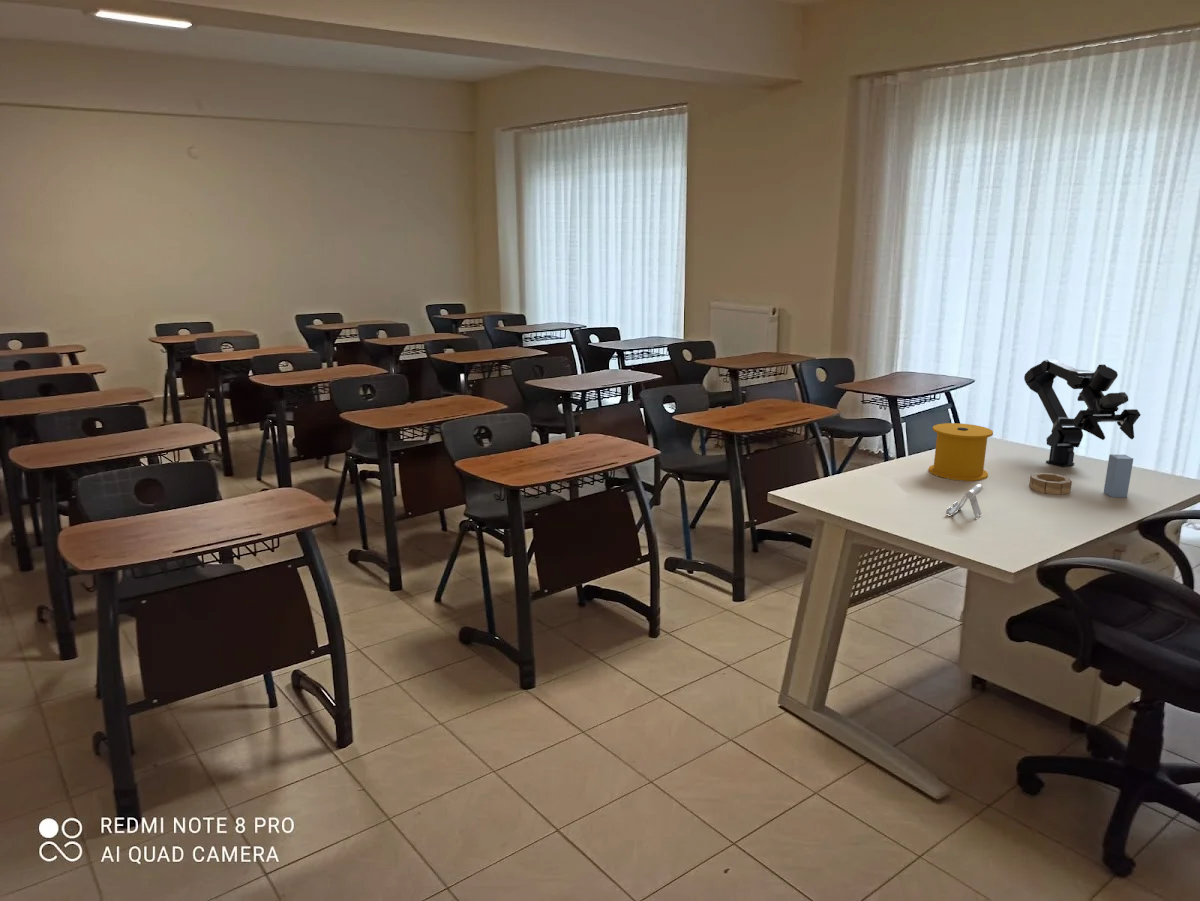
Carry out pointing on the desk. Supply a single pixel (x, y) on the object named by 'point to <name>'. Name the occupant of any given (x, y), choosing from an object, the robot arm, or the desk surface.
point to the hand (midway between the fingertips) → (1118, 438)
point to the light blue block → (1118, 475)
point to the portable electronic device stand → (969, 495)
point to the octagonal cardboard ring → (1050, 483)
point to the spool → (960, 451)
